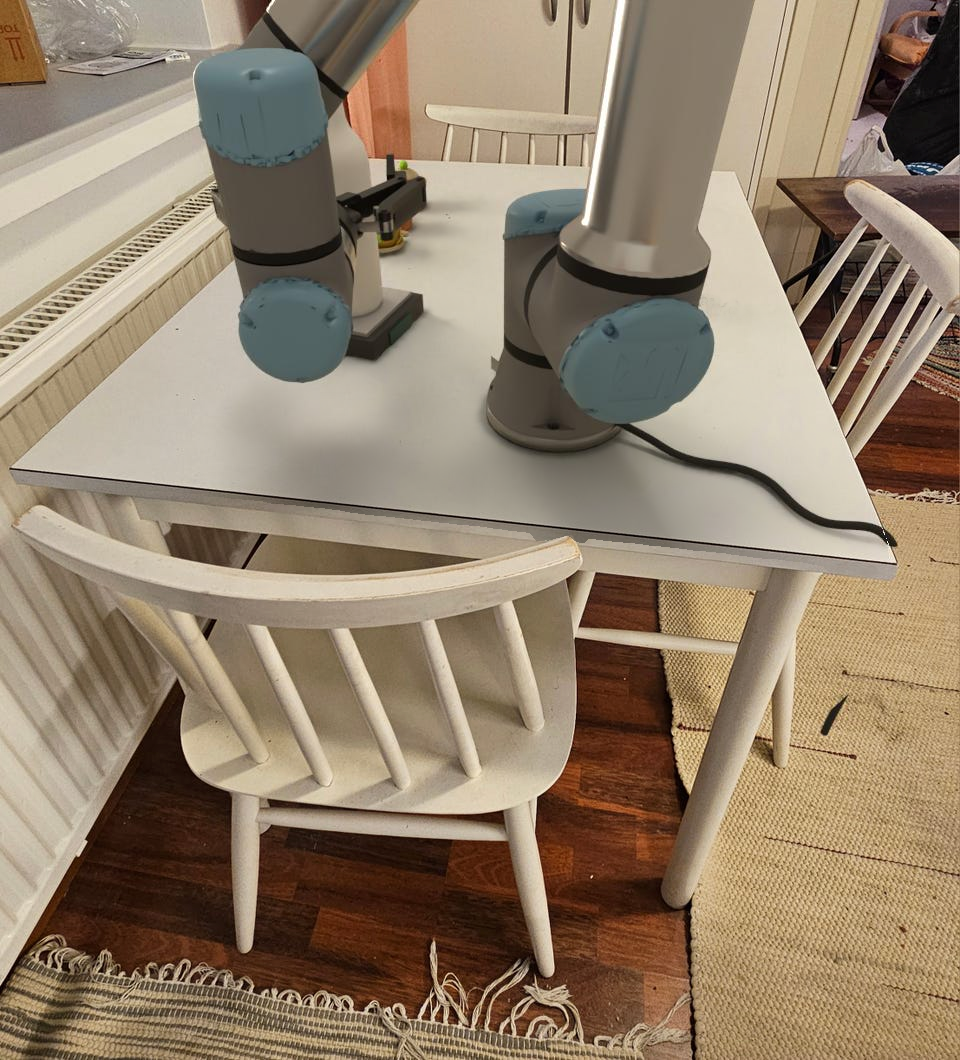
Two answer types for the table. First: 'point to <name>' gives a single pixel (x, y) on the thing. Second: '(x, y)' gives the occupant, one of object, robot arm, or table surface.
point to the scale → (384, 323)
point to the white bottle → (351, 178)
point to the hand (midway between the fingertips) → (325, 171)
